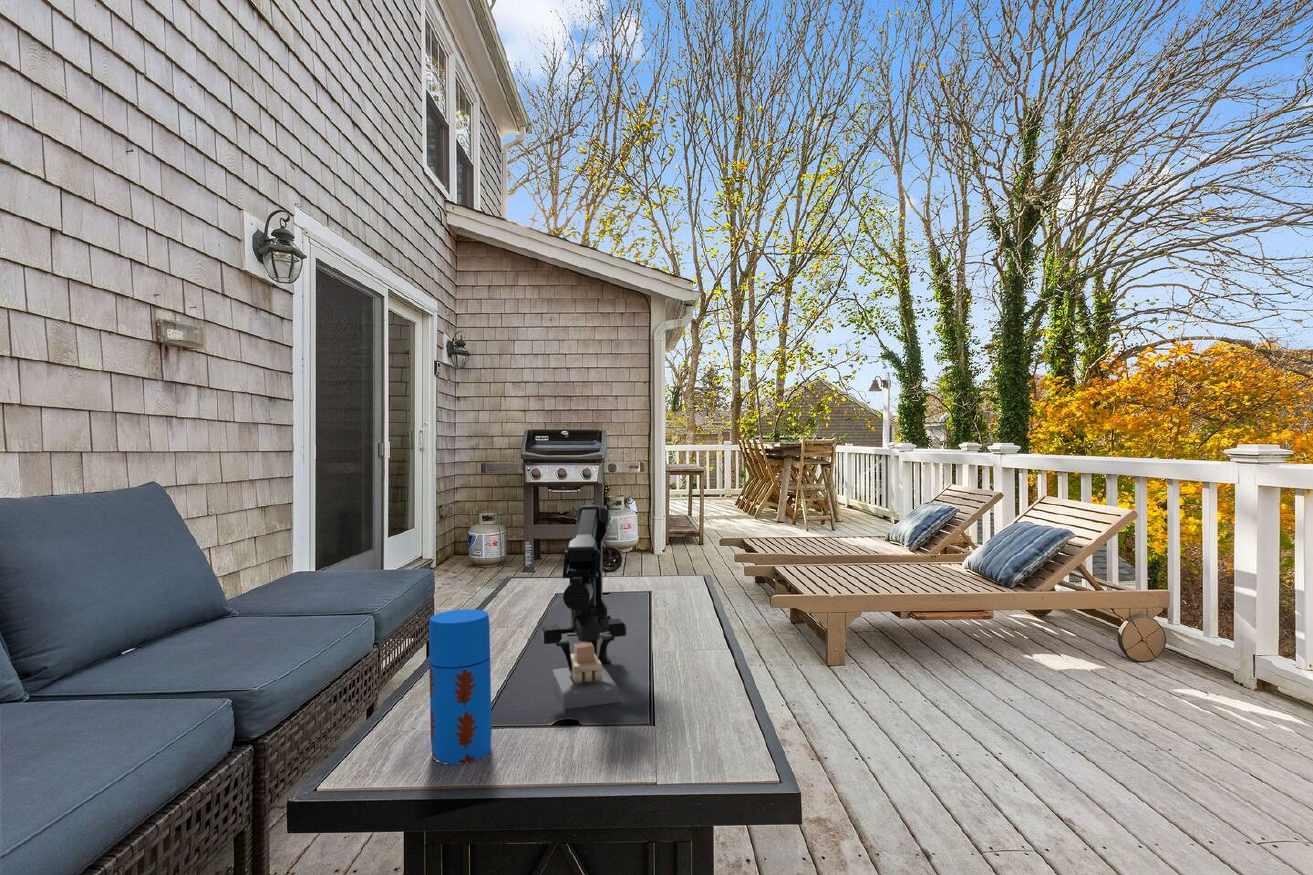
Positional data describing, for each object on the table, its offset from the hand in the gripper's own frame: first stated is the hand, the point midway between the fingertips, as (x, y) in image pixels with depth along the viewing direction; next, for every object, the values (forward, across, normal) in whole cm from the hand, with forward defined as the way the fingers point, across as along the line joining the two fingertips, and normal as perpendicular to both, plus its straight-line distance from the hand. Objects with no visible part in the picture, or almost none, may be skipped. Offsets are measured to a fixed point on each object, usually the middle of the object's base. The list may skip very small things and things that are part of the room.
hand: (584, 668), depth 154 cm
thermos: (+6, -27, -22) cm, 35 cm away
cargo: (-2, 0, 0) cm, 2 cm away
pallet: (+1, 0, 0) cm, 1 cm away
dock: (+6, 0, +1) cm, 6 cm away
